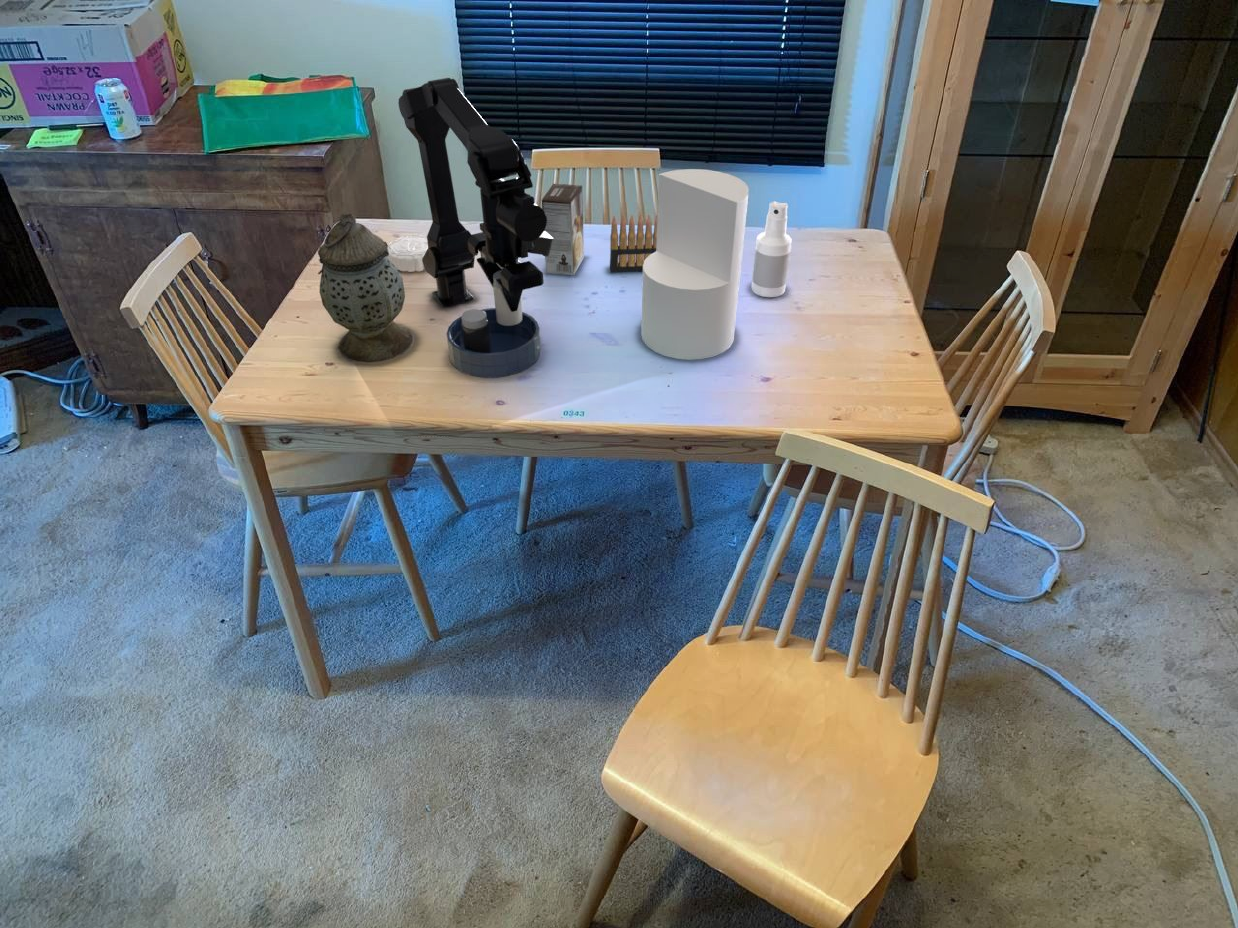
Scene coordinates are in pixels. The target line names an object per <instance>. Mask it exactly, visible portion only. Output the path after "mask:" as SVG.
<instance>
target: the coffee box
mask: <svg viewBox="0 0 1238 928" xmlns="http://www.w3.org/2000/svg"><path fill="white" fill-rule="evenodd" d="M541 208H542V209H543V211H544V212H545V215H546V216H547V225H546V228H545V230H544V231H546V232H547V233H548V234H549V235H550V236H552V237H553V242H552V246H551V250H550V253H549V256H544V262H545V263H544V265H545V273H546V274H553V275H564V276H575V274H576V273H577V271H578V269H579V267H580V266H581V264H582V262H583V260H584V258H585V243H584V242H585V237H584V202H583V185H582V184H581V185H580V184H568V183H567V184H566V183H553V184H552V185H551V186H550V188H549V189H548V190H547V192H546V193H545V194H544V196H543V198H542V199H541Z"/></svg>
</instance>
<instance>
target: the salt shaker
mask: <svg viewBox="0 0 1238 928" xmlns="http://www.w3.org/2000/svg"><path fill="white" fill-rule="evenodd" d="M501 271H502V270H500V271H497V272H496V273H494V275H493V281H494V283H493V287H492V289H493V299H494V308H495V310H496V320H497V322H498V323H499V324H501V325H505V326H511V325H516V324H518V323H520V322H521V321H522V319H523V317H522V312H523V307H522V306H523V305H522V297H521V298H520V302H519V306H518V309H517V311H514V312H511V310H510V308H509V307H508V305H507V302H506V300H505V298H504V296H503V294H502V292H501V290H500V288H499V286H498V284H497V282H496V279H500V272H501Z"/></svg>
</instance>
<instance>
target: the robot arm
mask: <svg viewBox="0 0 1238 928" xmlns="http://www.w3.org/2000/svg"><path fill="white" fill-rule="evenodd" d="M397 104H398V108H399V113H400V115H401V117H402V118H403V121H404V125H405V127H406V129H407V130H408V131H409V132H410V133H411V135H412V136H413V137H414V138H415V139H416V141H417V143H418V149H419V154H420V155H419V156H420V160H421V166H422V170H423V171H422V172H423V177H424V180H425V187H426V192H427V197H428V203H429V208H430V215H431V220H432V222H431V225H430V227H429V230H428V232H427V235H426V236H427V242H428V249H427V251H426V253H425V255H424V257H423V259H422V262H423V265H424V269H425V270H424V271H425V272H426V273H427V274H428V275H430V276H431V277H432V278H433V279H435V282H436V289H437V290H435V291H432V296H433V297H434V298H435V300H436V301H437V302H438V303H439V304H440V306H441V307H443V308H448V307H451V306H455V305H460V304H464V303H468V302H472V301H474V296H473V295H472V294H471V293H470V292H469V290H468V289H467V279H466V272H465V270H466V271H467V270H468V269H474V267H475V258H476V256H478V255H479V254H480V257H478V258H476V262H477V263H478V265H479V267H480V268H481V270H482V271H483V273H484V275H485V276H486V278H487V280H488V282H489V283H490V285H491V287H492V288H493V283H494V281H493V275H494V273H496V272H497V271H500V270H502V271H501V272H500V279H496V282H497V284H498V286H499V288H500V290H501V292H502V294H503V296H504V298H505V300H506V302H507V305H508V307H509V308H510V310H511V312H514V311H517V309H518V306H519V302H520V298H521V299H522V294H523V292H524V291H525V290H529V289H533V288H538V287H541V286H543V285H544V283H545V282H544V280H545V279H544V272H543V271H542V270H541V269H540V268H539V267H537V266H536V265H535V264H534V263H533V262H532V261H530V260H528V261H527V260H526V261H523V262H521V261H520V260H519V258H521V259H525V258H529V254H533V255H540V256H541V255H542V257H545V256H549V253H550V250H551V246H552V242H553V237H552V236H550V235H549V234H548V233H547V232H546V231H544V230H545V228H546V225H547V216H546V215H545V212H544V211H543V209H542V206H539V205H538V204H536V203H535V197H534V196H533V195H531V194H529V193H526V191H525V190H528V189H531V188H533V187H534V185H533V181H532V178H531V177H532V173H531V171H530V168H529V167H528V164H527V162H526V160H525V158H524V156H523V154H522V151H521V149H520V147H519V145H518V144H516V142H515V141H514V139H512V138H511V137H510V136H509V135H508V134H506V133H505V132H504V131H503V130H500V129H497V128H494V127H491V126H490V125H489V124H487V122H486V121H485V119H483V118H482V116H481V115H480V114H479V112H478V111H477V110H476V109H475V108H474V106H473V105H472V104H471V102H470V101H469V100H468V99H467V97H465V95H464V94H463V93H462V91H461V90H460V86H459V84H458V82H457V81H456V79H454V78H451V77H444V78H439V79H431V80H428V81H427V82H426V83H424V84H422V85H421V86H418V87H411V88H406V89H403V91H402V94H401V95H400V97H399V98H398V103H397ZM450 130H452V133H453V134H454V135H455V136H456V137H457V139H458V140H459V141H460V142H461V144H462V145H463V147H464V148H465V149H466V151H467V161H466V163H467V165H468V167H469V169H470V171H471V173H472V175H473V177H474V179H475V182H474V184H475V186H476V187H477V188H479V192H480V202H481V203H480V204H481V211H482V212H481V213H482V222H480V223H479V230H480V231H481V232H477V233H473V234H472V233H471V232H470V231H469V230H468V229H467V228H466V227H465V226H464V225H463V224H462V223H461V221H460V219H459V214H458V208H457V207H458V206H457V202H456V196H455V191H454V189H455V188H454V185H453V178H452V171H451V166H450V165H451V164H450V161H449V154H448V148H447V141H446V139H447V137H448V135H449V131H450ZM516 175H517V176H518V177H515V178H511V179H506V178H510V177H514V176H516ZM504 179H506V180H504Z"/></svg>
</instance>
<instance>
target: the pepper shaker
mask: <svg viewBox="0 0 1238 928" xmlns="http://www.w3.org/2000/svg"><path fill="white" fill-rule="evenodd" d="M460 317H461V318H462V324H461V325H462V332H463V340H464V348H465V349H466V350H469V351H472V352H479V353H491V344H490V334H489V325H488V320H487V315H486V313H485V312H484V311H482V309H478V308H475V309H468V310H465V311H464V312H463V313H462V314H461V316H460Z"/></svg>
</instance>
